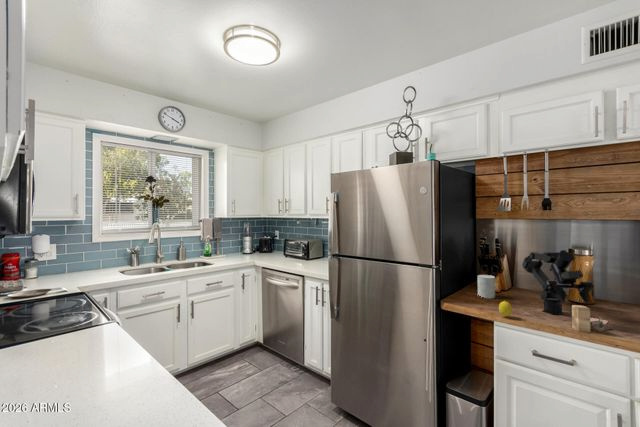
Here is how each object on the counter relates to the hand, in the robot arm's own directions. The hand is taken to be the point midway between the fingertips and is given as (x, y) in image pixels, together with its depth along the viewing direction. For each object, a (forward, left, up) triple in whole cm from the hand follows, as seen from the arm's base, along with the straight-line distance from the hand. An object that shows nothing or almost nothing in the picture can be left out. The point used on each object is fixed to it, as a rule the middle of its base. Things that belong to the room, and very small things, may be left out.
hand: (575, 303), depth 134 cm
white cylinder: (-51, +7, -11) cm, 53 cm away
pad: (0, +16, -11) cm, 19 cm away
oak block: (+3, -2, -11) cm, 11 cm away
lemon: (-21, -17, -11) cm, 29 cm away
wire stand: (+5, +7, -11) cm, 14 cm away
